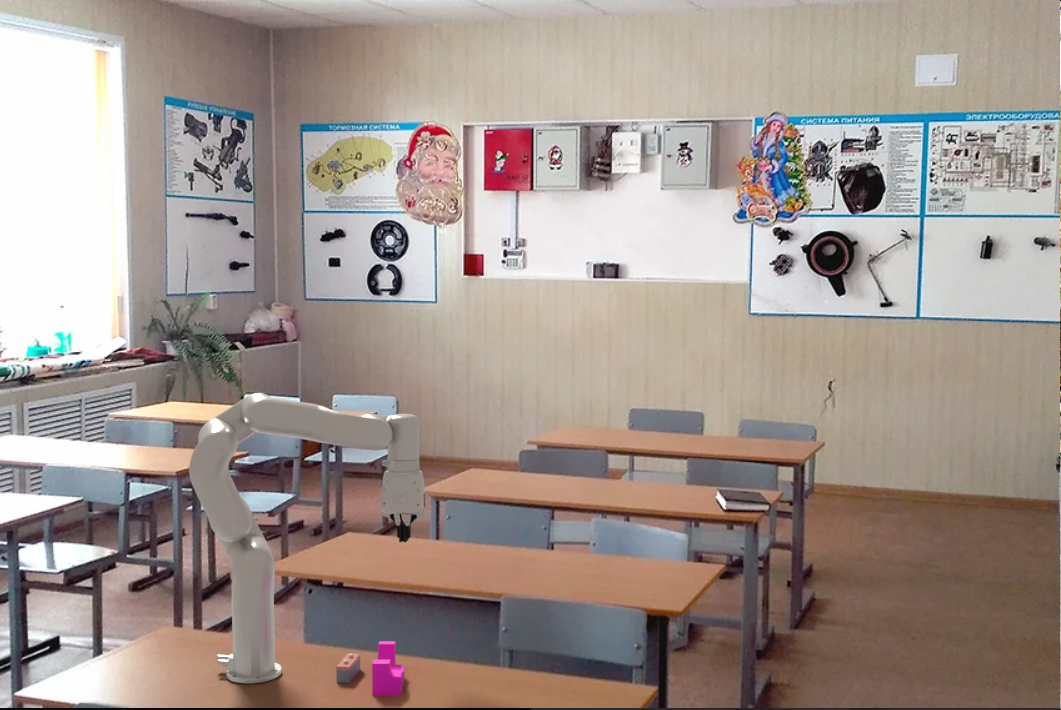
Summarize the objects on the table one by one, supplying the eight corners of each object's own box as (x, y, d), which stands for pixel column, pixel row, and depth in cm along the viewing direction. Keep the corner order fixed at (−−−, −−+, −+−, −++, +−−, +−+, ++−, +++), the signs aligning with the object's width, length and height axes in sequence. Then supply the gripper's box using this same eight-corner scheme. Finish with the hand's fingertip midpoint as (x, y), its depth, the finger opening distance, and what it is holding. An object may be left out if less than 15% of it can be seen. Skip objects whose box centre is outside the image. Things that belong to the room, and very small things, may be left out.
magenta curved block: (400, 696, 259) (400, 663, 258) (372, 696, 259) (372, 663, 258) (406, 672, 274) (406, 641, 273) (379, 672, 274) (379, 641, 273)
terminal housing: (336, 682, 266) (336, 663, 266) (348, 668, 275) (347, 650, 275) (349, 683, 266) (349, 664, 265) (360, 669, 275) (360, 651, 274)
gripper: (369, 467, 276) (369, 543, 277) (430, 469, 274) (430, 545, 275) (377, 462, 283) (378, 536, 285) (437, 463, 281) (437, 538, 283)
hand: (404, 540), depth 280 cm, fingers closed
